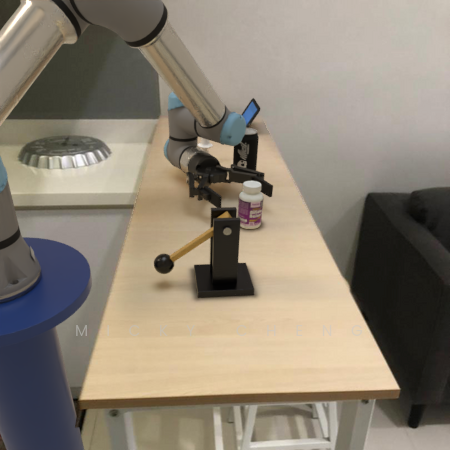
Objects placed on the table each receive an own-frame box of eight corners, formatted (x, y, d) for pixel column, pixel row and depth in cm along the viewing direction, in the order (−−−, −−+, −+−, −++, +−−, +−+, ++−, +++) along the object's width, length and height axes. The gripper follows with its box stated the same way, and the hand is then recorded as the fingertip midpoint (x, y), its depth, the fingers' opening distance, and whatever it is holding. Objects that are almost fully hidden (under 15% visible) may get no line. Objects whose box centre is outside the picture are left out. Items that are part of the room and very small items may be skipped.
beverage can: (229, 176, 129) (231, 132, 122) (236, 168, 134) (238, 125, 127) (252, 179, 127) (255, 135, 120) (258, 171, 132) (261, 128, 125)
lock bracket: (197, 297, 81) (197, 226, 73) (193, 270, 89) (193, 203, 81) (253, 294, 83) (259, 224, 75) (245, 268, 90) (250, 201, 82)
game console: (215, 122, 172) (216, 96, 167) (252, 123, 174) (254, 97, 168) (219, 135, 160) (220, 107, 154) (259, 135, 161) (261, 108, 156)
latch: (162, 281, 82) (149, 267, 80) (162, 270, 85) (149, 257, 83) (239, 231, 78) (227, 215, 76) (235, 221, 81) (224, 206, 79)
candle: (197, 164, 136) (197, 122, 129) (194, 158, 140) (194, 116, 133) (215, 163, 137) (216, 121, 130) (212, 157, 141) (213, 116, 134)
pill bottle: (252, 232, 102) (255, 190, 97) (232, 225, 105) (234, 184, 99) (265, 223, 106) (269, 183, 100) (246, 217, 108) (249, 177, 103)
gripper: (241, 173, 125) (289, 202, 111) (156, 188, 115) (196, 223, 100) (243, 145, 121) (292, 171, 106) (154, 158, 110) (196, 190, 96)
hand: (246, 196), depth 103 cm, fingers open, 13 cm apart
